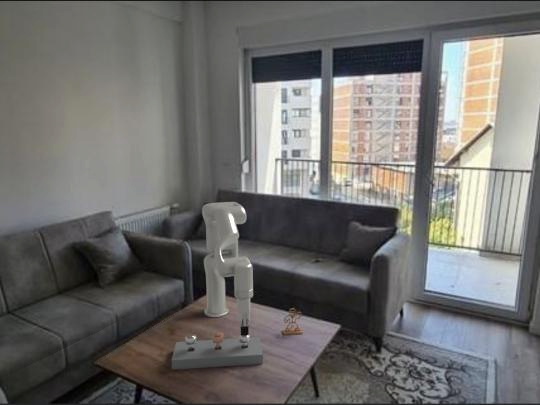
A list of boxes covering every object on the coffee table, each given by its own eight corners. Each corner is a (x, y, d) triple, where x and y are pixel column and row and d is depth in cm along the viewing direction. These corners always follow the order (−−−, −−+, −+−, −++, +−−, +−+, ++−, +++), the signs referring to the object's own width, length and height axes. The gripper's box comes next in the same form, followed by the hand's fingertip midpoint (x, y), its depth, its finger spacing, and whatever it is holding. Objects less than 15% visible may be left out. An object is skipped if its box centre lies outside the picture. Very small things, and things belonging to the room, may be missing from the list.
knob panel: (176, 350, 169) (176, 342, 168) (260, 345, 172) (260, 337, 172) (172, 369, 155) (171, 360, 154) (262, 363, 159) (262, 354, 158)
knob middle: (212, 345, 165) (212, 331, 164) (223, 344, 165) (223, 331, 164) (212, 350, 160) (212, 337, 160) (223, 350, 161) (223, 336, 160)
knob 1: (186, 346, 164) (185, 333, 163) (197, 346, 164) (196, 332, 163) (185, 352, 159) (184, 338, 158) (196, 351, 160) (195, 338, 159)
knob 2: (239, 345, 166) (239, 331, 165) (249, 344, 167) (249, 331, 166) (239, 350, 162) (239, 337, 161) (250, 350, 162) (250, 336, 161)
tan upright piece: (283, 335, 181) (283, 310, 179) (282, 331, 185) (282, 307, 183) (302, 334, 182) (302, 309, 180) (301, 330, 186) (301, 306, 184)
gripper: (234, 286, 167) (235, 326, 170) (234, 300, 152) (235, 344, 155) (251, 285, 168) (252, 325, 171) (254, 299, 153) (254, 343, 156)
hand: (244, 334), depth 163 cm, fingers closed
